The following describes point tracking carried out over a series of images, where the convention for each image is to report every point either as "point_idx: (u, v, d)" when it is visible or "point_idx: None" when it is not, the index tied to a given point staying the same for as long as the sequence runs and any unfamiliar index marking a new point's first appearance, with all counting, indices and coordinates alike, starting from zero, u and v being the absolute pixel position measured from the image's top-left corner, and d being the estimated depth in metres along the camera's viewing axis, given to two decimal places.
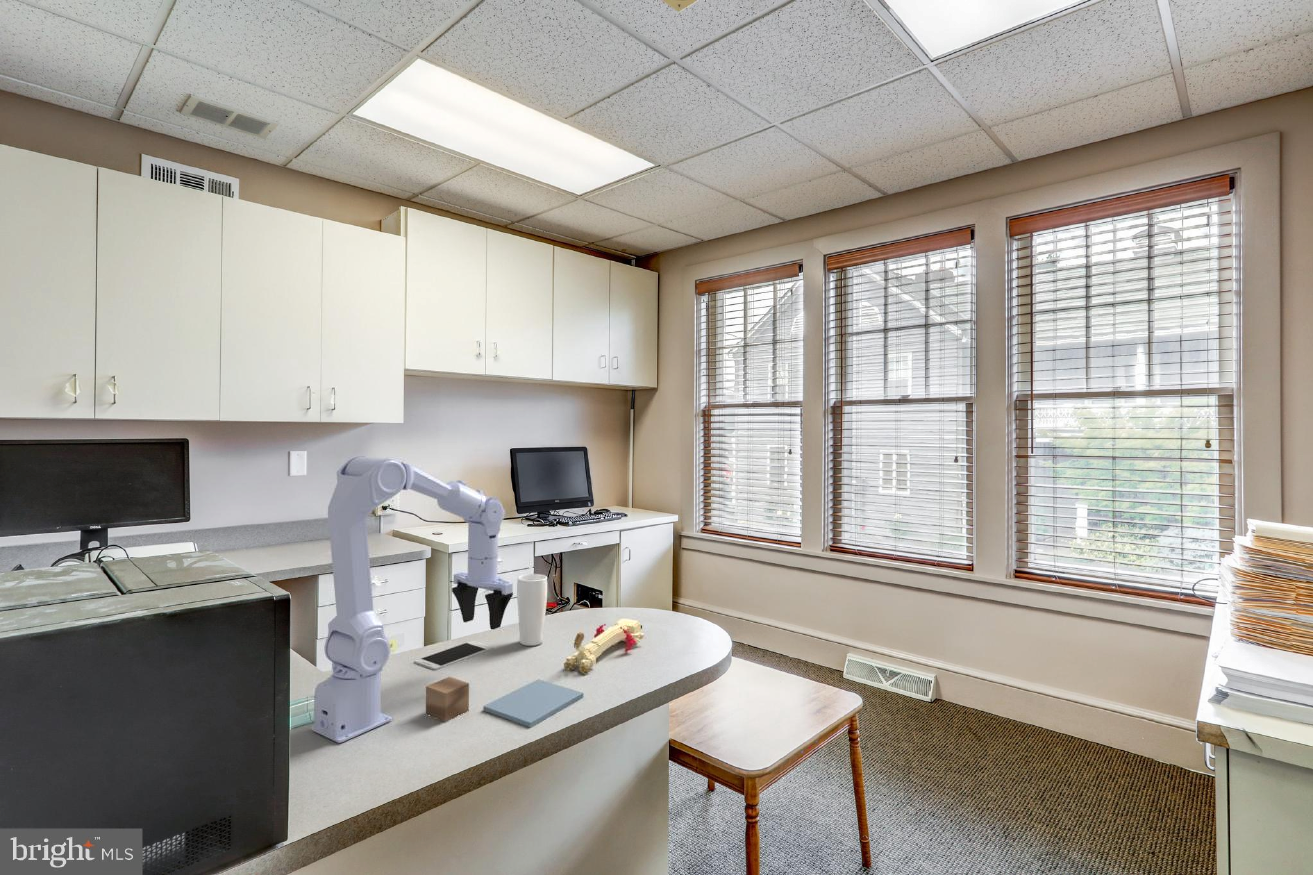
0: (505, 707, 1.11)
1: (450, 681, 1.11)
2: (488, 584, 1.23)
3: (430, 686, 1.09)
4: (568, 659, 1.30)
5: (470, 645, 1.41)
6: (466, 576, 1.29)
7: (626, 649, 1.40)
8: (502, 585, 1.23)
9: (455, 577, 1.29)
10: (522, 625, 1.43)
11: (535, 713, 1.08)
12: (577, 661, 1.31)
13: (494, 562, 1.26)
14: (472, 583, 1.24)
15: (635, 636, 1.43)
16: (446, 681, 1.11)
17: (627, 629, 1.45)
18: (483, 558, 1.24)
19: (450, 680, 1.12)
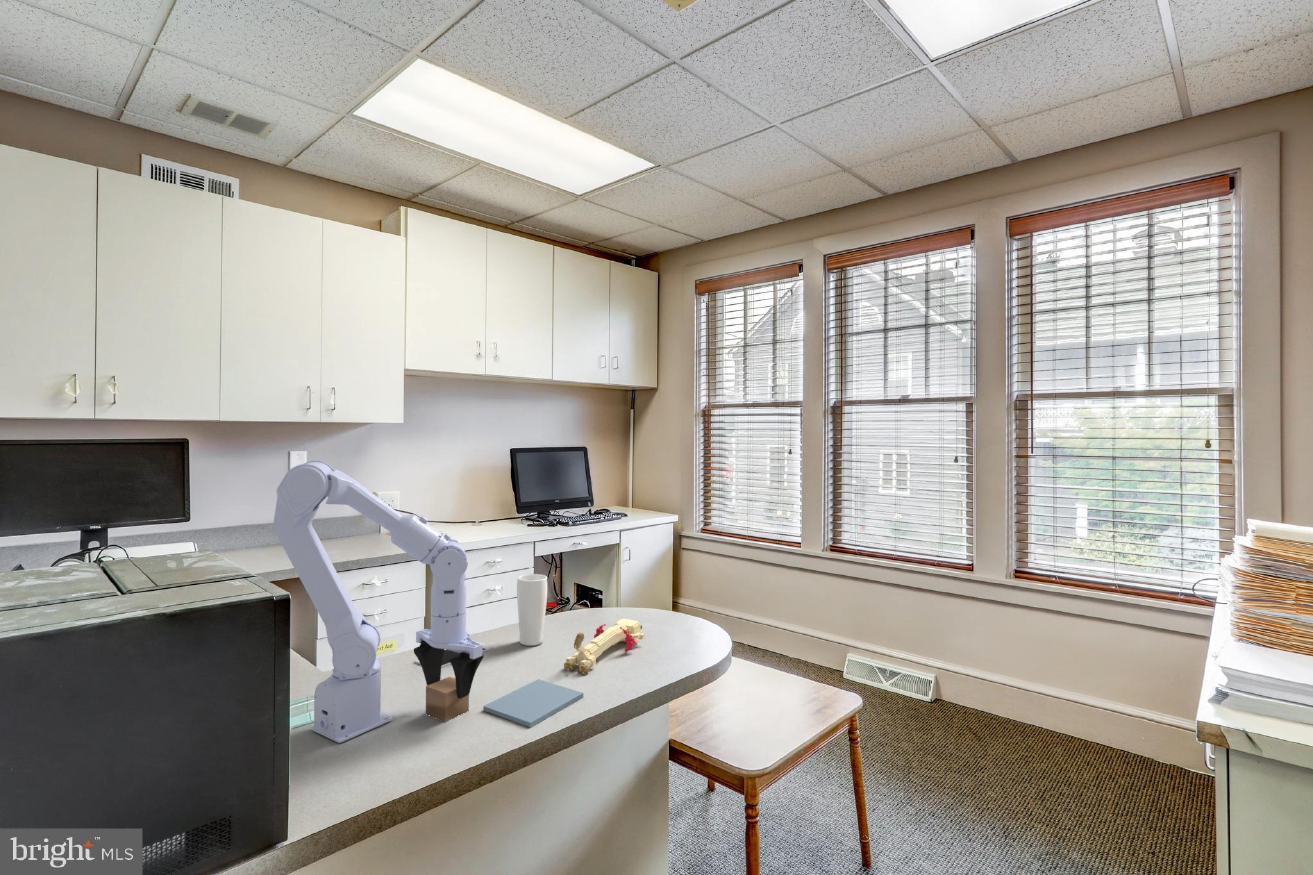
0: (505, 707, 1.11)
1: (450, 681, 1.11)
2: (454, 646, 1.06)
3: (430, 686, 1.09)
4: (568, 659, 1.29)
5: None
6: (430, 634, 1.12)
7: (626, 650, 1.40)
8: (470, 648, 1.05)
9: (418, 635, 1.12)
10: (522, 625, 1.43)
11: (535, 713, 1.08)
12: (577, 661, 1.31)
13: (461, 619, 1.08)
14: (435, 645, 1.07)
15: (635, 636, 1.43)
16: (446, 681, 1.11)
17: (627, 629, 1.44)
18: (448, 616, 1.07)
19: (450, 680, 1.12)
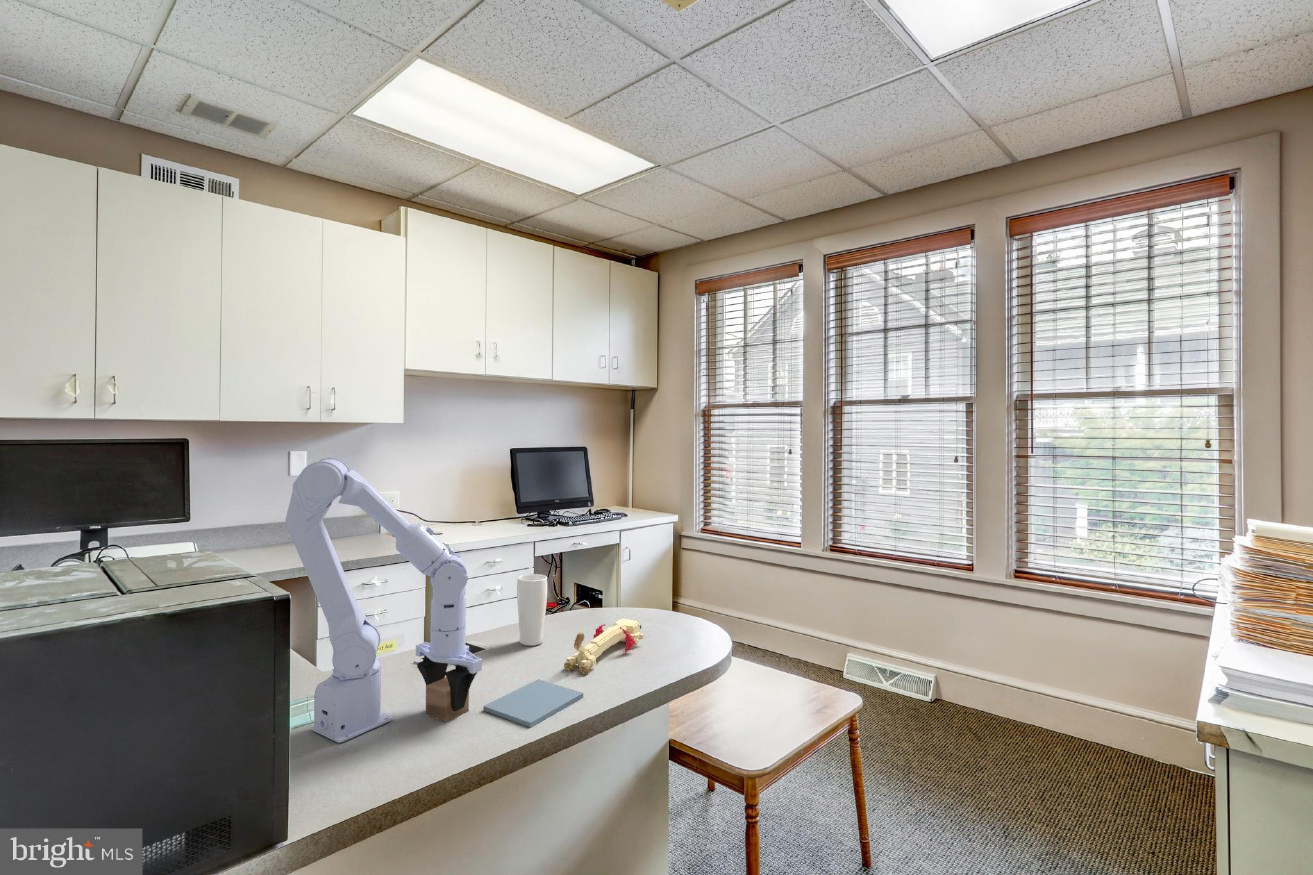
0: (505, 707, 1.11)
1: None
2: (453, 661, 1.06)
3: (430, 685, 1.09)
4: (568, 659, 1.29)
5: (470, 645, 1.41)
6: (430, 648, 1.12)
7: (625, 650, 1.40)
8: (469, 662, 1.05)
9: (417, 648, 1.12)
10: (522, 625, 1.43)
11: (535, 713, 1.08)
12: (577, 661, 1.31)
13: (461, 633, 1.08)
14: (435, 659, 1.07)
15: (635, 636, 1.43)
16: (446, 681, 1.11)
17: (626, 629, 1.44)
18: (448, 630, 1.07)
19: None
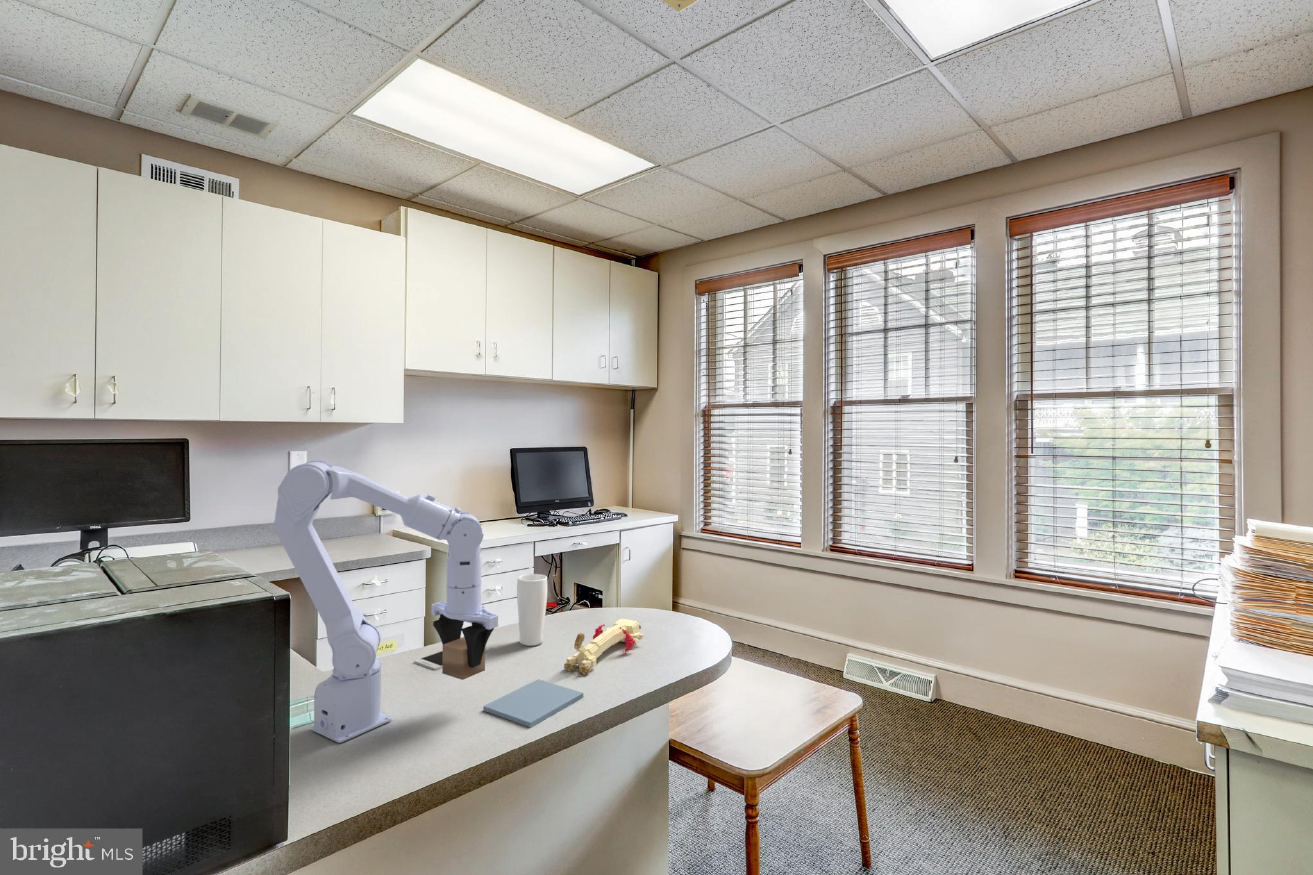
0: (505, 707, 1.11)
1: None
2: (470, 617, 1.07)
3: (447, 644, 1.10)
4: (568, 660, 1.29)
5: None
6: (446, 606, 1.12)
7: (625, 650, 1.40)
8: (486, 618, 1.06)
9: (433, 607, 1.13)
10: (522, 625, 1.43)
11: (535, 713, 1.08)
12: (577, 662, 1.31)
13: (477, 591, 1.09)
14: (451, 616, 1.07)
15: (634, 636, 1.43)
16: (463, 641, 1.12)
17: (626, 629, 1.44)
18: (464, 587, 1.07)
19: None
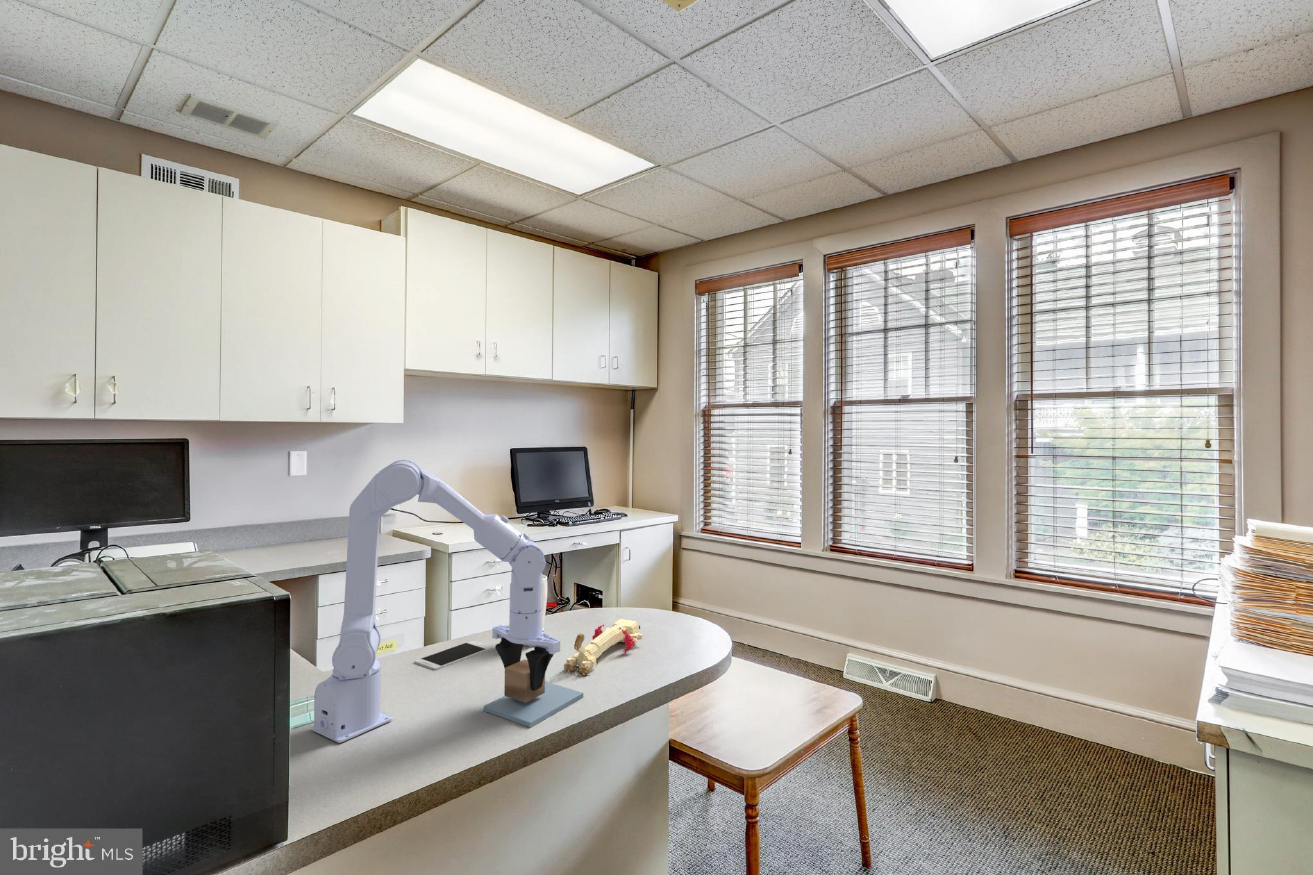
0: (505, 707, 1.11)
1: (526, 664, 1.15)
2: (533, 642, 1.10)
3: (509, 667, 1.13)
4: (568, 660, 1.29)
5: (470, 645, 1.41)
6: (507, 630, 1.16)
7: (625, 650, 1.40)
8: (549, 643, 1.09)
9: (494, 631, 1.16)
10: None
11: (535, 713, 1.08)
12: (577, 662, 1.31)
13: (539, 616, 1.12)
14: (515, 640, 1.11)
15: (634, 636, 1.43)
16: (523, 664, 1.15)
17: (625, 630, 1.44)
18: (527, 612, 1.11)
19: (526, 662, 1.16)
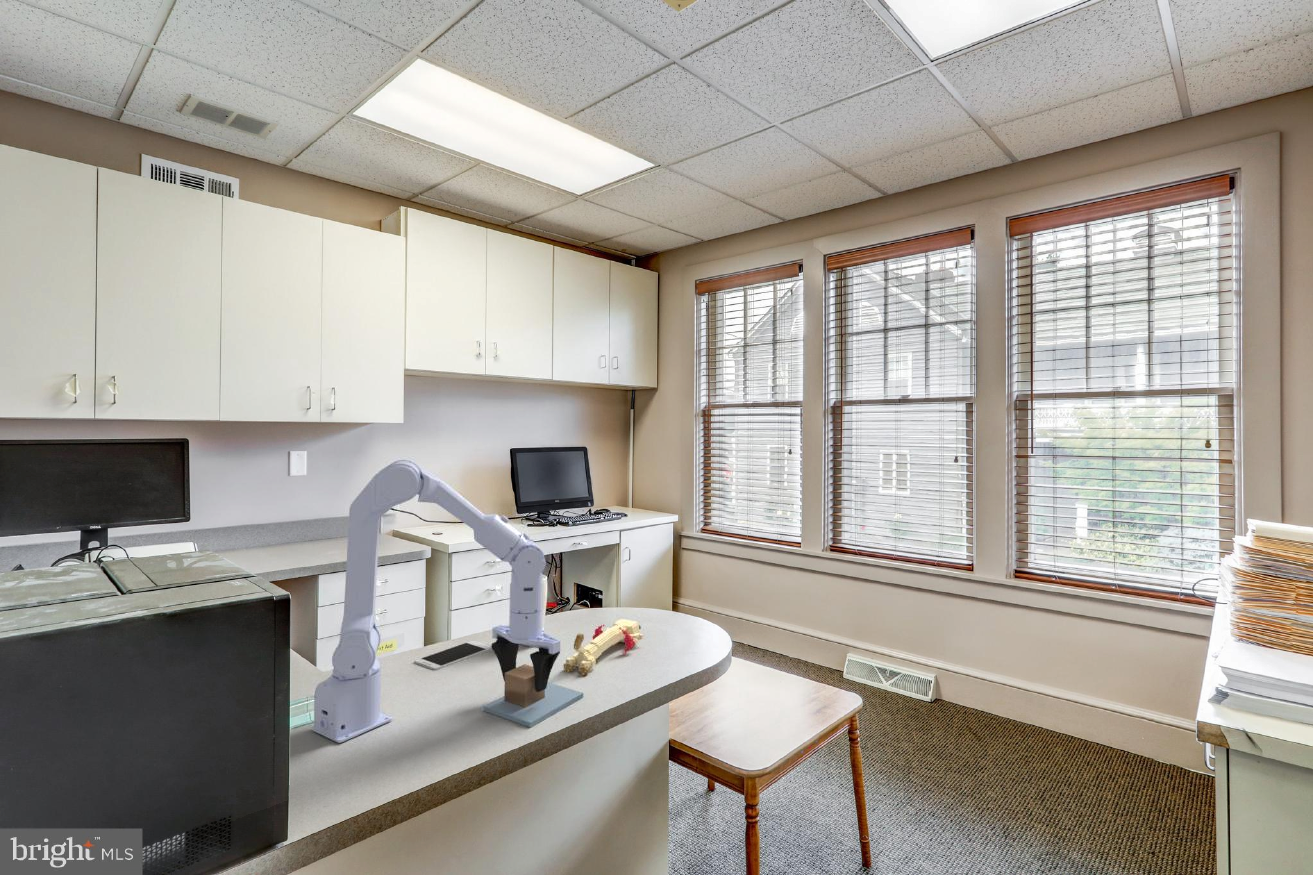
0: (505, 707, 1.11)
1: (526, 668, 1.15)
2: (533, 642, 1.10)
3: (509, 672, 1.13)
4: (568, 660, 1.29)
5: (470, 645, 1.41)
6: (507, 630, 1.16)
7: (625, 650, 1.40)
8: (549, 643, 1.09)
9: (494, 631, 1.16)
10: None
11: (535, 713, 1.08)
12: (577, 662, 1.30)
13: (539, 616, 1.12)
14: (515, 640, 1.11)
15: (634, 636, 1.43)
16: (523, 668, 1.15)
17: (626, 630, 1.44)
18: (527, 612, 1.11)
19: (526, 667, 1.16)
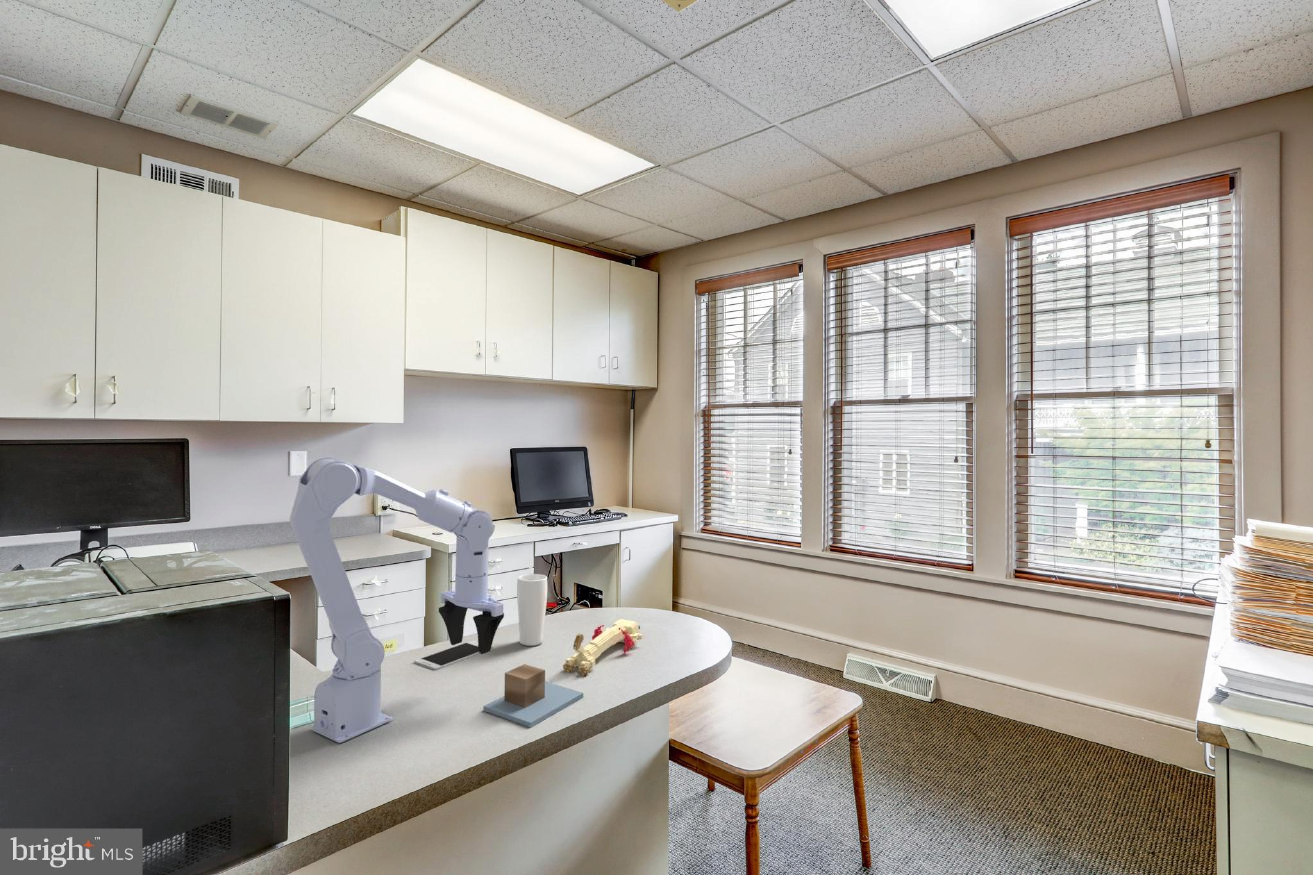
0: (505, 707, 1.11)
1: (526, 668, 1.15)
2: (477, 605, 1.13)
3: (509, 672, 1.13)
4: (567, 661, 1.29)
5: (470, 645, 1.41)
6: (454, 595, 1.19)
7: (624, 650, 1.40)
8: (492, 606, 1.12)
9: (442, 596, 1.19)
10: (522, 625, 1.43)
11: (535, 713, 1.08)
12: (576, 663, 1.30)
13: (484, 580, 1.15)
14: (459, 603, 1.14)
15: (634, 636, 1.43)
16: (523, 668, 1.15)
17: (625, 630, 1.44)
18: (471, 576, 1.14)
19: (526, 667, 1.16)
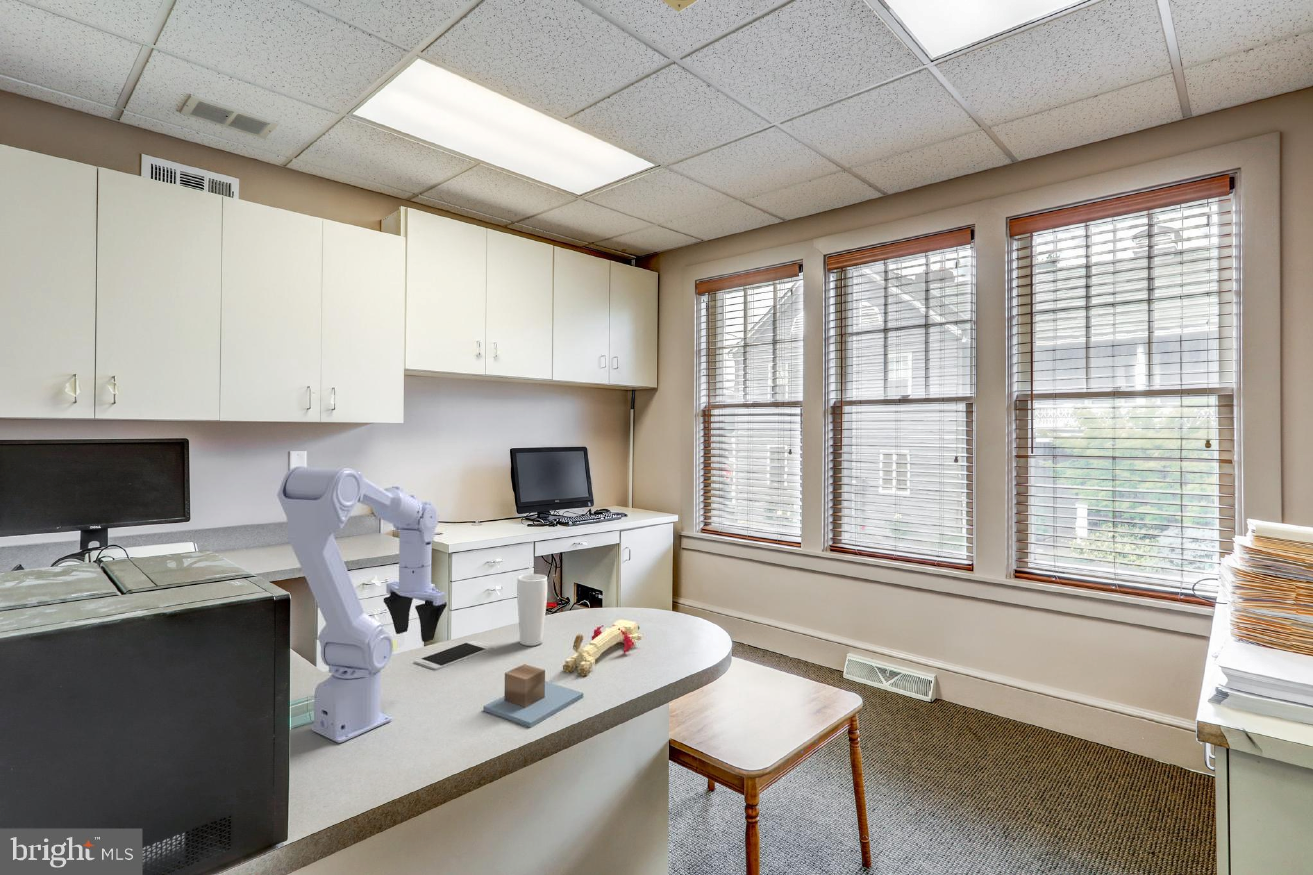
0: (505, 707, 1.11)
1: (526, 668, 1.15)
2: (419, 594, 1.17)
3: (509, 672, 1.13)
4: (567, 661, 1.28)
5: (470, 645, 1.41)
6: (399, 585, 1.22)
7: (624, 651, 1.39)
8: (433, 595, 1.16)
9: (388, 586, 1.23)
10: (522, 625, 1.43)
11: (535, 713, 1.08)
12: (576, 663, 1.30)
13: (427, 571, 1.19)
14: (402, 593, 1.17)
15: (633, 637, 1.43)
16: (523, 668, 1.15)
17: (625, 630, 1.44)
18: (414, 567, 1.17)
19: (526, 667, 1.16)
